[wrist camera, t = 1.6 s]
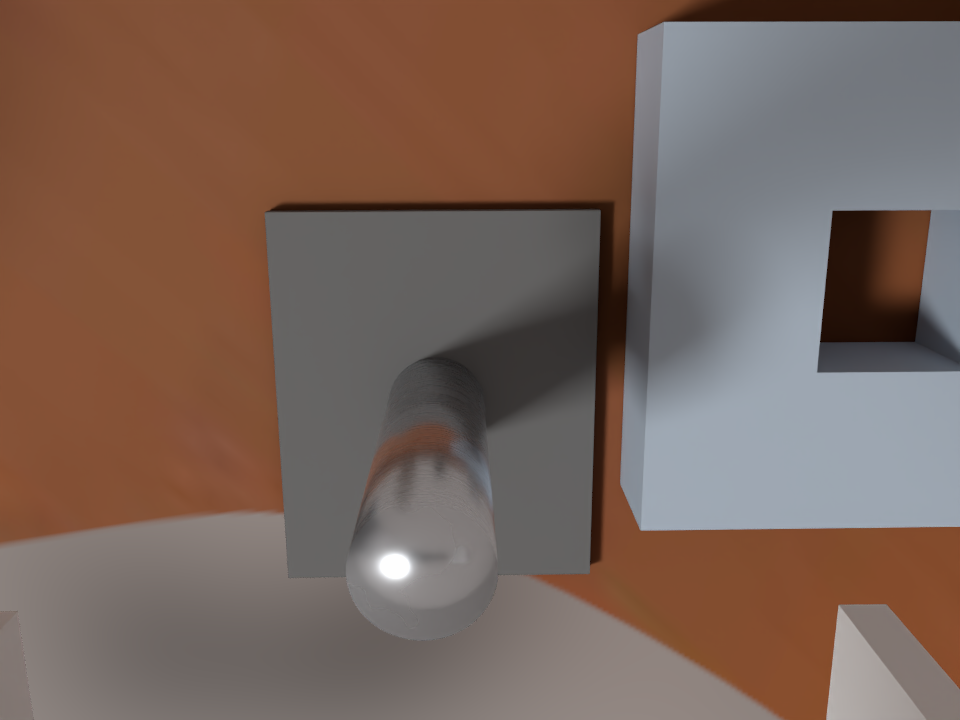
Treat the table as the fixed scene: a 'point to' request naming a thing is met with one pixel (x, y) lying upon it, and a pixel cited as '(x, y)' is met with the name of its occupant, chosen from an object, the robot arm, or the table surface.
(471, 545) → the pin
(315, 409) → the mat
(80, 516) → the table surface
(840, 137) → the socket block
